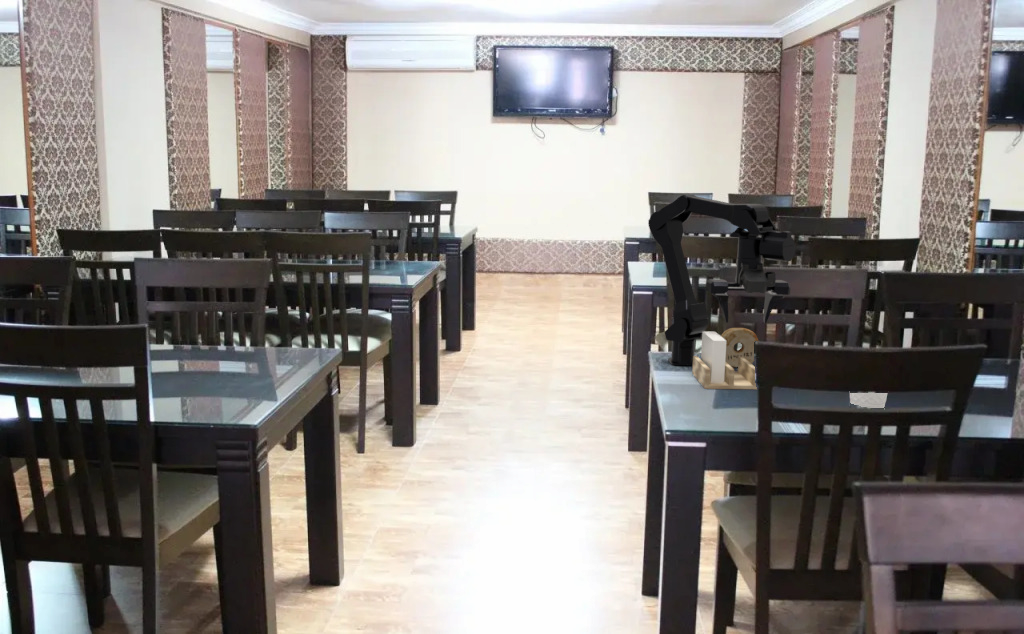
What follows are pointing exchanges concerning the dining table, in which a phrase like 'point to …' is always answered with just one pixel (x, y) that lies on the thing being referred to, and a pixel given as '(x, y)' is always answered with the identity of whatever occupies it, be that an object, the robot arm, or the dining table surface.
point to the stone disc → (745, 339)
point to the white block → (714, 355)
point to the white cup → (868, 399)
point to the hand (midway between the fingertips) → (745, 322)
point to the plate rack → (726, 375)
